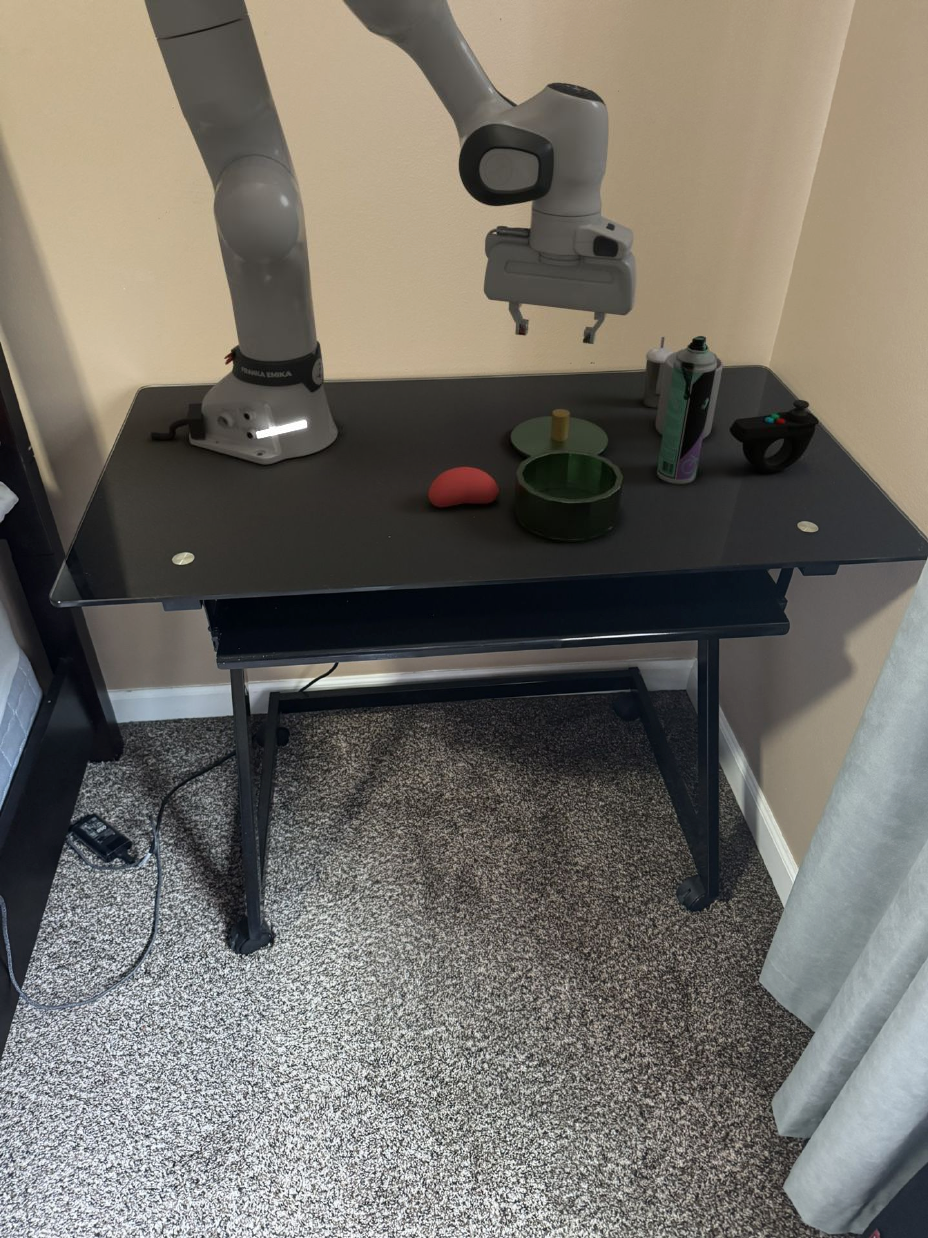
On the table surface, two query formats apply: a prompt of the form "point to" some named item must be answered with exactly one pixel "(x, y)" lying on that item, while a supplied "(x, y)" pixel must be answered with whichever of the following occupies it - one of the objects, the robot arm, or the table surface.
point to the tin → (568, 495)
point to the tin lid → (558, 435)
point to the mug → (666, 388)
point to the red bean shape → (462, 487)
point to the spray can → (686, 412)
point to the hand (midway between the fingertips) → (555, 337)
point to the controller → (776, 436)
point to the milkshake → (655, 374)
